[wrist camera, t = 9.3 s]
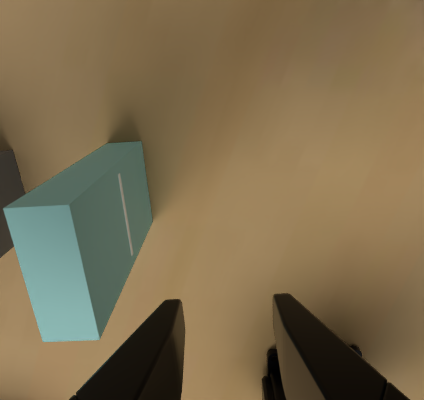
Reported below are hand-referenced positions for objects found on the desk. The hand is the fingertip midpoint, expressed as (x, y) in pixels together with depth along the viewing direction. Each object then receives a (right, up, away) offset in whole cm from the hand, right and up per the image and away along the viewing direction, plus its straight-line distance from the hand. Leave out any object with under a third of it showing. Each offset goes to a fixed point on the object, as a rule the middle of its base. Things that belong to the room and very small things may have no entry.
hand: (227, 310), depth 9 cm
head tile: (-5, +4, +12) cm, 13 cm away
